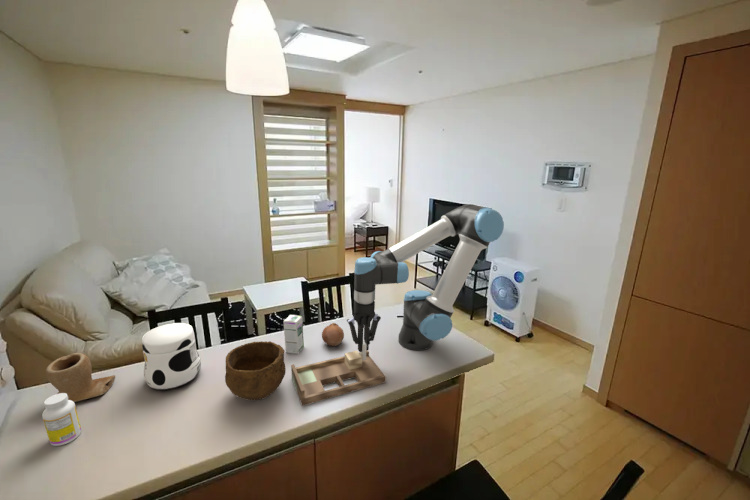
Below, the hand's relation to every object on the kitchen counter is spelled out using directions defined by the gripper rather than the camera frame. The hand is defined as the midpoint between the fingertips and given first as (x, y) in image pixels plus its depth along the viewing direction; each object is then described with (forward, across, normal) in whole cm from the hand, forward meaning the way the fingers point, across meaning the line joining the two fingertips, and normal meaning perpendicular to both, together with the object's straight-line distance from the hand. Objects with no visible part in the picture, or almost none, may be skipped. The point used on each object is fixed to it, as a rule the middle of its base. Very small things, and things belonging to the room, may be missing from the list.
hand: (362, 358), depth 128 cm
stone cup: (+6, +90, -22) cm, 93 cm away
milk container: (+5, +64, -21) cm, 67 cm away
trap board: (+4, +11, +3) cm, 12 cm away
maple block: (+2, +4, 0) cm, 4 cm away
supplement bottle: (+6, +89, -3) cm, 89 cm away
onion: (+5, +5, -21) cm, 22 cm away
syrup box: (+5, +21, -23) cm, 31 cm away
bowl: (+5, +38, -1) cm, 38 cm away
